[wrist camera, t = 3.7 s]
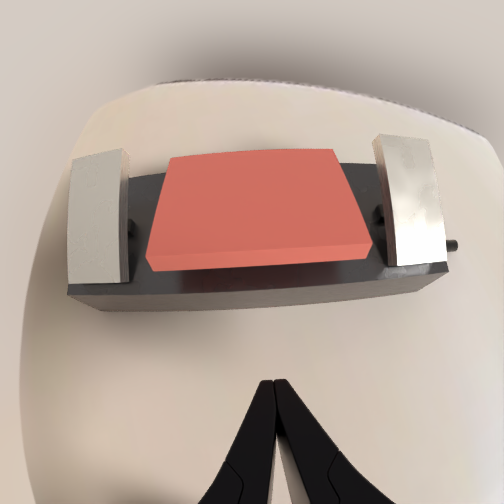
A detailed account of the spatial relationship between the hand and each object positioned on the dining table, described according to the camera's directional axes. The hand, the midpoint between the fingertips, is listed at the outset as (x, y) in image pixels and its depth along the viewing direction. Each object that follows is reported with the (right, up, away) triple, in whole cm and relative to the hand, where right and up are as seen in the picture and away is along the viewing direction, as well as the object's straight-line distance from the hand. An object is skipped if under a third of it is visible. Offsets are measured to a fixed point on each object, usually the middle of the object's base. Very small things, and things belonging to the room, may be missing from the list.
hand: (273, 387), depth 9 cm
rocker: (0, +7, +9) cm, 12 cm away
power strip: (+3, +5, +16) cm, 17 cm away
